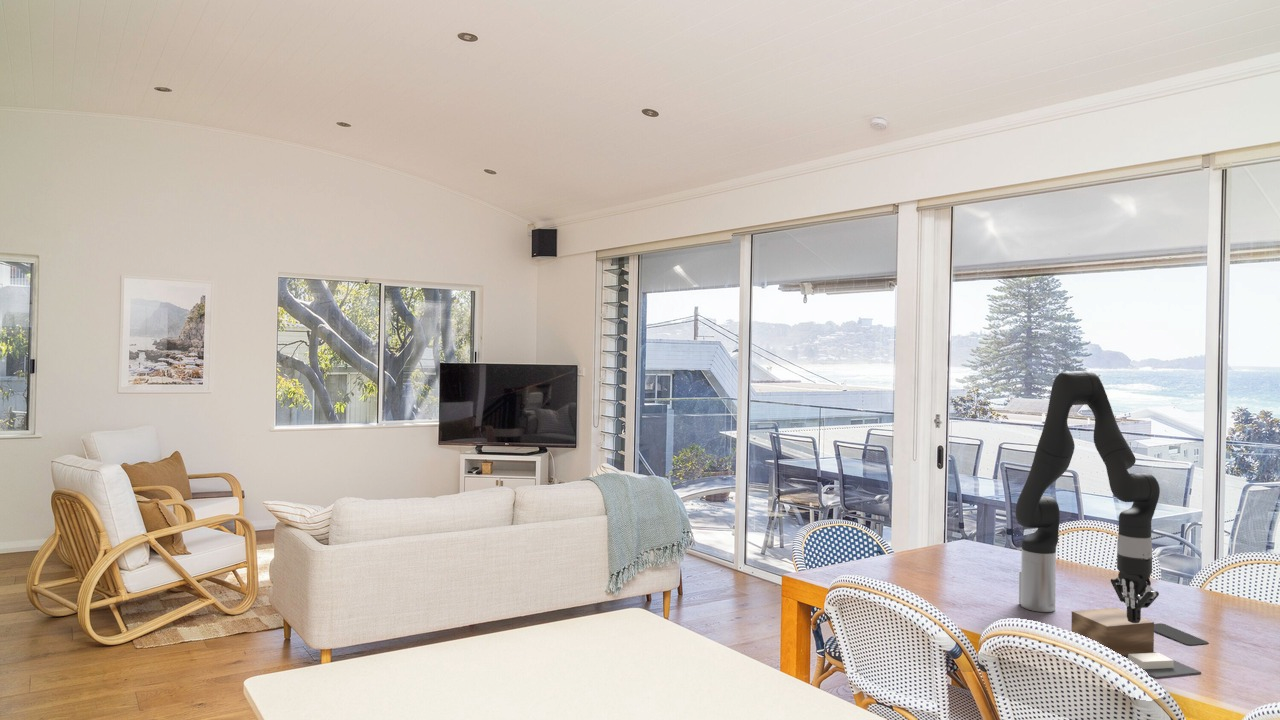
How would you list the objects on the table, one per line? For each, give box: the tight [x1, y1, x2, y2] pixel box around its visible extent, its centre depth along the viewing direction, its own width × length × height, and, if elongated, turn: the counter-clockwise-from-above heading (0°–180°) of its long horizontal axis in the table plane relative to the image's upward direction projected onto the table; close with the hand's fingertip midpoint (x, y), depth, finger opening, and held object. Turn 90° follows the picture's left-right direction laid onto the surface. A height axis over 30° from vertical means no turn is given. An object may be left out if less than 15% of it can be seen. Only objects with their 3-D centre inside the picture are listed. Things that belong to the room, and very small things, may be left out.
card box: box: [1128, 652, 1174, 670], centre depth 198 cm, size 5×8×2 cm, turn 97°
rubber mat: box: [1122, 651, 1202, 680], centre depth 199 cm, size 13×13×1 cm
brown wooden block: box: [1070, 607, 1155, 655], centre depth 211 cm, size 12×14×8 cm
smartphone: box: [1154, 623, 1209, 647], centre depth 220 cm, size 7×1×15 cm
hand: (1133, 622), depth 204 cm, fingers closed
